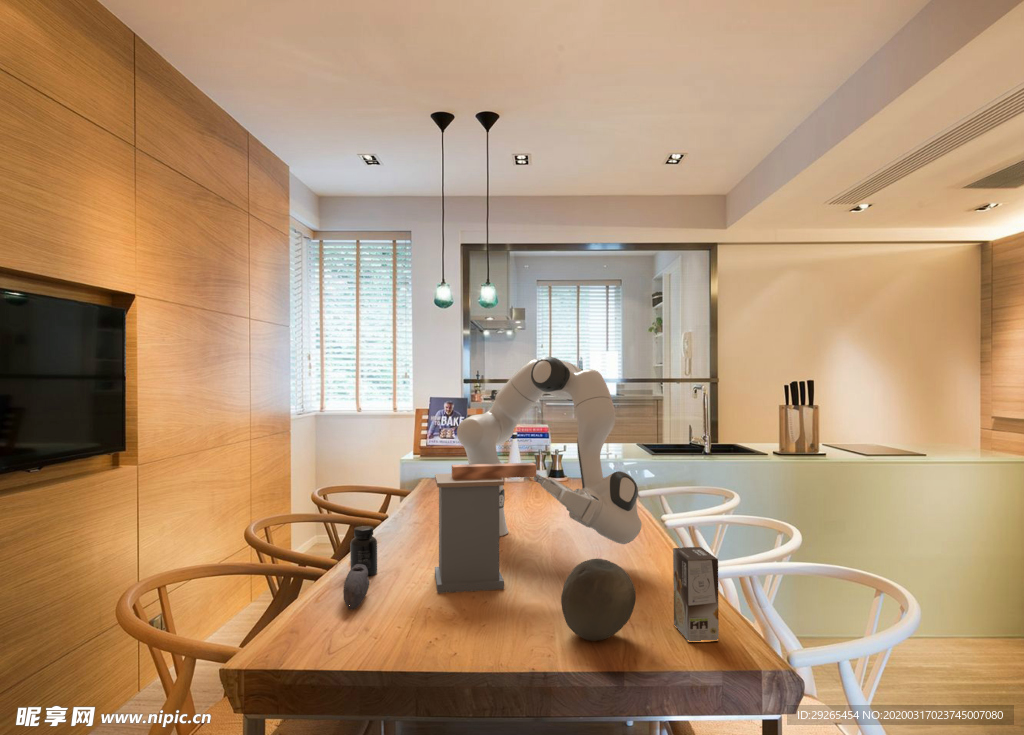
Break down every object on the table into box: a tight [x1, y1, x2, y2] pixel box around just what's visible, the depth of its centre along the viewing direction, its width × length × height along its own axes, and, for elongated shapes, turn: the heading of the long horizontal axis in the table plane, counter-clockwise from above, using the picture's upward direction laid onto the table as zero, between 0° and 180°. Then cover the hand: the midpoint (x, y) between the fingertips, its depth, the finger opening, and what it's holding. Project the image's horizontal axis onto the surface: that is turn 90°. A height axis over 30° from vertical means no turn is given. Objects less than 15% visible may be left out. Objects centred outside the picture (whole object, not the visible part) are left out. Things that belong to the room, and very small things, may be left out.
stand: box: [434, 473, 505, 594], centre depth 156 cm, size 16×14×26 cm
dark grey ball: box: [560, 558, 637, 642], centre depth 123 cm, size 14×14×15 cm
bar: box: [451, 462, 537, 479], centre depth 158 cm, size 21×4×3 cm, turn 100°
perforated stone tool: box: [342, 564, 370, 611], centre depth 142 cm, size 15×5×7 cm, turn 4°
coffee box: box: [672, 546, 720, 641], centre depth 125 cm, size 9×6×16 cm
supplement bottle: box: [349, 525, 378, 578], centre depth 162 cm, size 7×7×12 cm
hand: (538, 479), depth 160 cm, fingers open, 8 cm apart
